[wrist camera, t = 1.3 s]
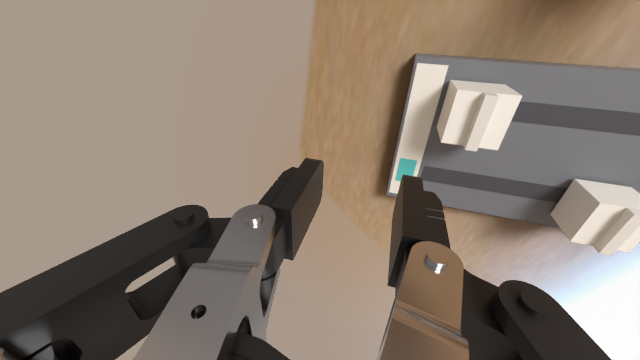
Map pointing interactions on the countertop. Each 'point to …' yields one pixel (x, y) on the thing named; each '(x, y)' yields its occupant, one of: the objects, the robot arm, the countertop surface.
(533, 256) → the countertop surface
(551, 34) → the countertop surface
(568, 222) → the tab
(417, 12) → the countertop surface
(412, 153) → the switch panel
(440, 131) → the tab
